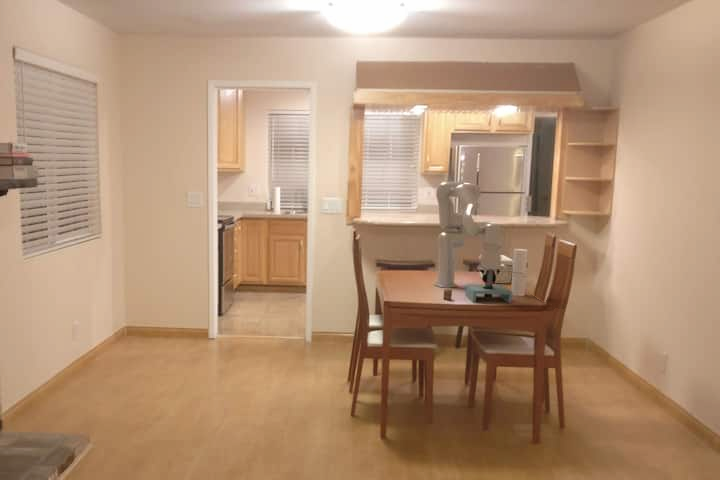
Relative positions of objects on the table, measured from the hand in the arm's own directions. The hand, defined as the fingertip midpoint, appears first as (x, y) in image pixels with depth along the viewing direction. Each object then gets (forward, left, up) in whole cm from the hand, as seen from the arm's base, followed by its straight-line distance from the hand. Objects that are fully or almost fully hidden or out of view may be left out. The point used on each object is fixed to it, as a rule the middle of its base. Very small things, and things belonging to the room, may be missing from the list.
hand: (488, 281), depth 293 cm
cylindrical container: (-13, +20, -9) cm, 26 cm away
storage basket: (-55, +19, -10) cm, 59 cm away
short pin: (+3, -22, -9) cm, 24 cm away
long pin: (0, 0, -8) cm, 8 cm away
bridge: (0, 0, -9) cm, 9 cm away
